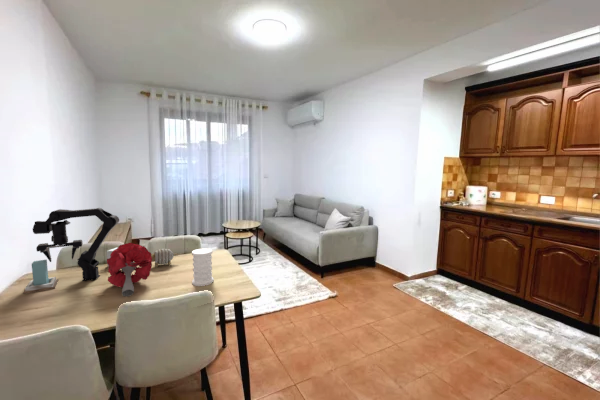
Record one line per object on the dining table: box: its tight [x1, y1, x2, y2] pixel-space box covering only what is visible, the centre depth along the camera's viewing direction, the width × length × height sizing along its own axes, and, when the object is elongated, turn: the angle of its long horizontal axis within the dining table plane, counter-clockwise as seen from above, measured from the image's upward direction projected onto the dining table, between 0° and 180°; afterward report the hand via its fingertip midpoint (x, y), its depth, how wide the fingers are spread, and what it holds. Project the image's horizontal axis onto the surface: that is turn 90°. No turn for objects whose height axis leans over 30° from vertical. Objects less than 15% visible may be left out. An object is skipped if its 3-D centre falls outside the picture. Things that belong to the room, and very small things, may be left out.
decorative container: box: [191, 247, 214, 287], centre depth 157 cm, size 12×12×18 cm
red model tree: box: [106, 242, 153, 297], centre depth 148 cm, size 22×24×30 cm
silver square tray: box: [22, 276, 59, 295], centre depth 147 cm, size 12×12×3 cm
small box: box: [106, 246, 119, 267], centre depth 181 cm, size 8×6×10 cm
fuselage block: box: [31, 259, 49, 286], centre depth 147 cm, size 5×5×13 cm
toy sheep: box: [151, 248, 179, 268], centre depth 182 cm, size 11×17×11 cm, turn 127°
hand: (61, 260), depth 154 cm, fingers open, 9 cm apart
